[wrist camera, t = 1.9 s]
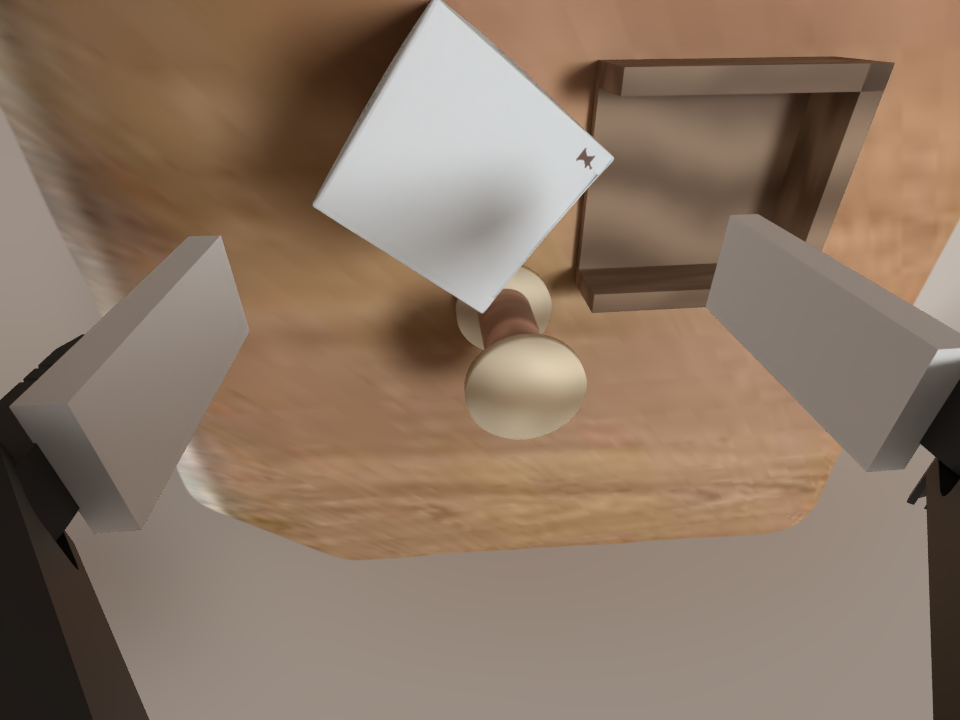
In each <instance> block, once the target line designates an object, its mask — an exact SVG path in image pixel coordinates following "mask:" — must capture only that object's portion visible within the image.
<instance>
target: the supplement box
mask: <svg viewBox="0 0 960 720" xmlns="http://www.w3.org/2000/svg"><path fill="white" fill-rule="evenodd" d="M613 160H614V157H613V156H612V155H611V154H610V153H609V152H608V151H607V150H606V149H605V148H604V147H603V146H602V145H601V144H600V143H599V142H597V141H596V140H595V139H594V138H593V137H592V136H591V135H590V134H589V133H588V132H587V131H586V130H585V129H584V128H583V127H581V126H580V125H579V124H578V123H577V122H576V121H575V120H574V119H573V118H572V117H571V116H570V115H569V114H568V113H566V112H565V111H564V110H563V109H562V108H561V107H560V106H559V105H558V104H557V103H556V102H555V101H554V100H553V99H552V98H551V97H550V96H549V95H548V94H547V93H546V92H545V91H544V90H543V89H542V88H541V87H540V86H539V85H538V84H537V83H536V82H535V81H534V80H533V79H531V78H530V77H529V76H528V75H527V74H526V73H525V72H524V71H523V70H522V69H521V68H520V67H519V66H518V65H517V64H516V63H515V62H514V61H512V60H511V59H510V58H509V57H508V56H507V55H506V54H505V53H504V52H503V51H502V50H500V49H499V48H498V47H497V46H496V45H495V44H494V43H493V42H491V41H490V40H489V39H488V38H487V37H486V36H485V35H484V34H482V33H481V32H480V31H479V30H477V29H476V28H475V27H474V26H473V25H471V24H470V23H469V22H468V21H467V20H465V19H464V18H463V17H462V16H461V15H459V14H458V13H457V12H456V11H454V10H453V9H452V8H451V7H450V6H448V5H447V4H446V3H445V2H444V1H442V0H431V1H430V2H429V4H428V5H427V7H426V8H425V10H424V11H423V13H422V14H421V16H420V17H419V19H418V20H417V22H416V23H415V25H414V26H413V28H412V29H411V31H410V32H409V34H408V36H407V37H406V39H405V40H404V42H403V43H402V45H401V47H400V48H399V50H398V52H397V53H396V55H395V57H394V58H393V60H392V62H391V63H390V65H389V67H388V68H387V70H386V72H385V73H384V75H383V77H382V79H381V80H380V82H379V84H378V86H377V87H376V89H375V91H374V92H373V94H372V96H371V98H370V99H369V101H368V103H367V105H366V106H365V108H364V110H363V112H362V113H361V115H360V117H359V119H358V120H357V122H356V124H355V126H354V128H353V129H352V131H351V133H350V135H349V137H348V138H347V140H346V142H345V144H344V146H343V148H342V149H341V151H340V153H339V155H338V157H337V159H336V160H335V162H334V164H333V166H332V168H331V170H330V172H329V173H328V175H327V177H326V179H325V181H324V183H323V185H322V186H321V188H320V190H319V192H318V194H317V196H316V198H315V200H314V201H313V207H314V208H316V209H317V210H319V211H320V212H322V213H323V214H325V215H327V216H328V217H330V218H331V219H333V220H334V221H336V222H338V223H339V224H341V225H342V226H344V227H345V228H347V229H349V230H350V231H352V232H353V233H355V234H357V235H358V236H360V237H361V238H363V239H365V240H366V241H368V242H369V243H371V244H373V245H374V246H376V247H377V248H379V249H381V250H382V251H384V252H385V253H387V254H389V255H390V256H392V257H393V258H395V259H396V260H398V261H400V262H401V263H403V264H404V265H406V266H408V267H409V268H411V269H412V270H414V271H415V272H417V273H419V274H420V275H422V276H423V277H425V278H426V279H428V280H430V281H431V282H433V283H434V284H436V285H437V286H439V287H441V288H442V289H444V290H445V291H447V292H449V293H450V294H452V295H453V296H455V297H457V298H458V299H460V300H461V301H463V302H465V303H466V304H468V305H469V306H471V307H472V308H474V309H475V310H477V311H478V312H480V313H484V312H485V311H486V310H487V308H488V307H489V306H490V305H491V303H492V302H493V301H494V299H495V298H496V297H497V295H498V294H499V293H500V292H501V291H502V289H503V288H504V287H505V286H506V284H507V283H508V282H509V281H510V279H511V278H512V277H513V276H514V275H515V273H516V272H517V271H518V270H519V268H520V267H521V266H522V265H523V263H524V262H525V261H526V260H527V258H528V257H529V256H530V255H531V254H532V252H533V251H534V250H535V249H536V248H537V246H538V245H539V244H540V243H541V242H542V240H543V239H544V238H545V237H546V236H547V234H548V233H549V232H550V231H551V230H552V228H553V227H554V226H555V225H556V224H557V223H558V222H559V221H560V219H561V218H562V217H563V216H564V215H565V214H566V213H567V211H568V210H569V209H570V208H571V207H572V206H573V205H574V203H575V202H576V201H577V200H578V199H579V198H580V197H581V195H582V194H583V193H584V192H585V191H586V190H587V189H588V188H589V186H590V185H591V184H592V183H593V182H594V181H595V180H596V179H597V178H598V177H599V176H600V174H601V173H602V172H603V171H604V170H605V169H606V168H607V167H608V166H609V165H610V164H611V163H612V162H613Z"/></svg>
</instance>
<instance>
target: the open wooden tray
mask: <svg viewBox="0 0 960 720" xmlns="http://www.w3.org/2000/svg"><path fill="white" fill-rule="evenodd" d="M894 64H895V63H891V62H881V61H872V60H863V59H853V58H844V57H778V58H711V59H643V60H599V61H598V70H597V79H596V89H595V98H594V107H593V117H592V126H591V136H592V137H593V138H594V139H595V140H596V141H597V142H599V143H600V144H601V145H602V146H603V147H604V148H605V149H606V150H607V151H608V152H609V153H610V154H611V155H612V156H613V157H614V160H613V162H612V163H611V164H610V165H609V166H608V167H607V168H606V169H605V170H604V171H603V172H602V173H601V174H600V176H599V177H598V178H597V179H596V180H595V181H594V182H593V183H592V184H591V185H590V186H589V188H588V189H587V190H586V191H585V192H584V201H583V210H582V219H581V229H580V238H579V247H578V257H577V266H576V276H575V283H576V285H577V287H578V289H579V291H580V292H581V294H582V296H583V298H584V299H585V301H586V303H587V305H588V306H589V308H590V310H591V312H592V313H599V312H619V311H638V310H658V309H677V308H697V307H706V303H707V300H708V296H709V292H710V289H711V285H712V281H713V277H714V274H715V270H716V266H717V263H718V259H719V255H720V251H721V248H722V244H723V240H724V237H725V233H726V229H727V226H728V222H729V218H730V215H745V214H759V215H760V216H762V217H764V218H765V219H767V220H769V221H771V222H772V223H774V224H776V225H777V226H779V227H781V228H782V229H784V230H786V231H787V232H789V233H791V234H793V235H794V236H796V237H798V238H799V239H801V240H803V241H804V242H806V243H808V244H810V245H811V246H813V247H815V248H816V249H818V250H820V251H822V249H823V246H824V244H825V241H826V238H827V236H828V233H829V231H830V228H831V226H832V223H833V220H834V218H835V215H836V213H837V210H838V208H839V205H840V202H841V200H842V197H843V195H844V192H845V190H846V187H847V184H848V182H849V179H850V177H851V174H852V172H853V169H854V167H855V164H856V161H857V159H858V156H859V154H860V151H861V149H862V146H863V143H864V141H865V138H866V136H867V133H868V131H869V128H870V125H871V123H872V120H873V118H874V115H875V113H876V110H877V107H878V105H879V102H880V100H881V97H882V95H883V92H884V89H885V87H886V84H887V82H888V79H889V77H890V74H891V72H892V69H893V66H894Z"/></svg>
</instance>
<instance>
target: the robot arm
mask: <svg viewBox="0 0 960 720" xmlns="http://www.w3.org/2000/svg"><path fill="white" fill-rule="evenodd" d="M706 308H707V309H708V310H709V311H710V312H711V313H712V314H713V315H714V316H715V317H716V318H717V319H718V320H719V321H720V322H721V323H722V324H723V325H724V326H725V327H726V328H727V329H728V331H729V332H730V333H731V334H732V335H733V336H734V337H735V338H736V339H737V340H738V341H739V342H740V343H741V344H742V345H743V346H744V347H745V348H746V349H747V350H748V351H749V352H750V353H751V354H752V355H753V356H754V357H755V358H756V359H757V360H758V361H759V362H760V363H761V364H762V365H763V366H764V367H765V368H766V370H767V371H768V372H769V373H770V374H771V375H772V376H773V377H774V378H775V379H776V380H777V381H778V382H779V383H780V384H781V385H782V386H783V387H784V388H785V389H786V390H787V391H788V392H789V393H790V394H791V395H792V396H793V397H794V398H795V399H796V400H797V401H798V402H799V403H800V404H801V405H802V406H803V407H804V408H805V410H806V411H807V412H808V413H809V414H810V415H811V416H812V417H813V418H814V419H815V420H816V421H817V422H818V423H819V424H820V425H821V426H822V427H823V428H824V429H825V430H826V431H827V432H828V433H829V434H830V435H831V436H832V437H833V438H834V439H835V440H836V441H837V442H838V443H839V444H840V445H841V446H842V447H843V449H845V450H846V452H847V453H848V454H850V456H851V457H852V458H853V459H854V460H855V461H856V462H857V463H858V464H859V465H860V466H861V467H862V468H863V469H864V470H865V471H866V472H873V471H886V470H898V469H905V467H906V466H907V464H908V462H909V461H910V459H911V458H912V456H913V455H914V453H915V452H916V450H917V448H918V447H919V445H920V444H921V445H922V446H924V447H925V448H926V449H927V450H928V451H929V452H931V453H932V454H933V455H934V456H935V457H936V458H935V459H934V461H933V462H932V463H931V465H930V466H929V468H928V469H927V471H926V472H925V473H924V475H923V477H922V478H921V479H920V481H919V483H918V484H917V486H916V487H915V488H914V490H913V491H912V493H911V494H910V496H909V498H908V500H907V502H908V503H910V504H915V502H916V501H917V499H918V498H921V497H925V496H926V498H927V505H926V506H925V508H924V509H927V529H928V563H929V591H930V592H929V595H930V626H931V658H932V690H933V720H960V333H959V332H957V331H955V330H953V329H952V328H950V327H948V326H947V325H945V324H943V323H942V322H940V321H938V320H937V319H935V318H933V317H931V316H930V315H928V314H926V313H925V312H923V311H921V310H919V309H918V308H916V307H915V306H913V305H911V304H910V303H908V302H906V301H904V300H903V299H901V298H899V297H898V296H896V295H894V294H893V293H891V292H889V291H887V290H886V289H884V288H882V287H881V286H879V285H877V284H876V283H874V282H872V281H871V280H869V279H867V278H865V277H864V276H862V275H860V274H859V273H857V272H855V271H854V270H852V269H850V268H849V267H847V266H845V265H843V264H842V263H840V262H838V261H837V260H835V259H833V258H832V257H830V256H828V255H826V254H825V253H823V252H821V251H820V250H818V249H816V248H815V247H813V246H811V245H810V244H808V243H806V242H804V241H803V240H801V239H799V238H798V237H796V236H794V235H793V234H791V233H789V232H787V231H786V230H784V229H782V228H781V227H779V226H777V225H776V224H774V223H772V222H771V221H769V220H767V219H765V218H764V217H762V216H760V215H759V214H745V215H730V218H729V222H728V226H727V229H726V233H725V237H724V240H723V244H722V248H721V251H720V255H719V259H718V263H717V266H716V270H715V274H714V277H713V281H712V285H711V289H710V292H709V296H708V300H707V303H706ZM248 333H249V327H248V324H247V321H246V317H245V314H244V311H243V307H242V304H241V301H240V297H239V294H238V291H237V287H236V284H235V281H234V277H233V274H232V271H231V267H230V264H229V261H228V257H227V254H226V251H225V248H224V244H223V241H222V238H221V235H211V236H188V237H187V238H186V239H185V240H184V241H183V242H182V243H181V244H180V245H179V246H178V247H177V248H176V249H175V250H174V251H173V252H172V253H171V254H169V255H168V256H167V257H166V258H165V259H164V260H163V261H162V262H161V263H160V264H159V265H158V266H157V267H156V268H155V269H154V270H153V271H152V272H151V273H149V274H148V275H147V276H146V277H145V278H144V279H143V280H142V281H141V282H140V283H139V284H138V285H137V286H136V287H135V288H134V289H133V290H132V291H130V292H129V293H128V294H127V295H126V296H125V297H124V298H123V299H122V300H121V301H120V302H119V303H118V304H117V305H116V306H115V307H114V308H113V309H111V310H110V311H109V312H108V313H107V314H106V315H105V316H104V317H103V318H102V319H101V320H100V321H99V322H98V323H97V324H96V325H95V326H94V327H93V328H92V329H90V330H89V331H88V332H87V333H86V334H83V335H81V336H79V337H77V338H75V339H74V340H72V341H70V342H68V343H66V344H65V345H63V346H61V347H59V348H57V349H56V350H55V351H53V352H52V353H51V354H50V355H49V356H48V357H47V358H46V359H45V360H44V361H43V362H42V363H40V364H39V368H38V369H34V370H33V371H32V372H30V373H29V374H28V375H27V376H26V377H25V378H24V379H23V380H24V382H21V383H19V384H18V385H16V386H15V387H14V388H13V389H12V390H11V391H10V392H9V393H8V394H6V395H5V396H4V397H3V398H2V399H1V400H0V720H149V718H148V716H147V713H146V711H145V709H144V707H143V704H142V702H141V699H140V697H139V694H138V692H137V690H136V688H135V685H134V683H133V681H132V678H131V676H130V673H129V671H128V669H127V666H126V664H125V662H124V659H123V657H122V655H121V652H120V650H119V648H118V645H117V643H116V641H115V638H114V636H113V634H112V631H111V629H110V627H109V624H108V622H107V619H106V617H105V615H104V613H103V610H102V608H101V605H100V603H99V601H98V598H97V596H96V594H95V591H94V589H93V587H92V584H91V582H90V580H89V577H88V575H87V573H86V570H85V568H84V566H83V563H82V561H81V558H80V556H79V554H78V551H77V549H76V547H75V544H74V543H73V541H72V540H71V539H70V537H69V536H68V534H67V533H66V531H65V529H66V527H67V526H68V525H69V523H70V522H71V520H72V519H73V517H74V516H75V514H76V513H77V511H79V512H80V514H81V515H82V516H83V518H84V519H85V521H86V522H87V524H88V525H89V527H90V528H91V530H92V531H93V533H94V534H97V533H110V532H122V531H134V530H142V528H143V526H144V524H145V522H146V521H147V519H148V517H149V515H150V513H151V511H152V510H153V508H154V506H155V504H156V502H157V500H158V499H159V497H160V495H161V493H162V491H163V489H164V487H165V486H166V484H167V482H168V480H169V478H170V477H171V475H172V473H173V471H174V469H175V467H176V466H177V464H178V462H179V460H180V458H181V456H182V455H183V453H184V451H185V449H186V447H187V445H188V443H189V442H190V440H191V438H192V436H193V434H194V432H195V431H196V429H197V427H198V425H199V423H200V421H201V420H202V418H203V416H204V414H205V412H206V410H207V409H208V407H209V405H210V403H211V401H212V399H213V398H214V396H215V394H216V392H217V390H218V388H219V387H220V385H221V383H222V381H223V379H224V377H225V376H226V374H227V372H228V370H229V368H230V366H231V365H232V363H233V361H234V359H235V357H236V355H237V353H238V352H239V350H240V348H241V346H242V344H243V342H244V341H245V339H246V337H247V335H248Z"/></svg>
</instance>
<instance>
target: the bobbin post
mask: <svg viewBox="0 0 960 720" xmlns="http://www.w3.org/2000/svg"><path fill="white" fill-rule="evenodd" d="M551 313H552V302H551V297H550V294H549V292H548V289H547V287H546V285H545V283H544V282H543V280H542V279H541V278H540V277H539V275H538V274H536V273H535V272H534V271H532V270H531V269H529V268H527V267H525V266H521V267H520V268H519V270H518V271H517V272H516V273H515V275H514V276H513V277H512V278H511V279H510V281H509V282H508V283H507V284H506V286H505V287H504V288H503V289H502V291H501V292H500V293H499V294H498V295H497V297H496V298H495V299H494V301H493V302H492V303H491V305H490V306H489V307H488V308H487V310H486V311H485V312H484V313H480V312H478V311H477V310H475V309H474V308H472V307H471V306H469V305H468V304H466V303H465V302H463V301H461V300H460V299H458V298H457V301H456V316H457V323H458V326H459V328H460V331H461V332H462V334H463V335H464V337H465V338H466V339H467V340H468V341H469V342H470V343H471V344H473V345H474V346H476V347H478V348H480V349H482V350H483V351H482V352H481V353H480V354H479V355H478V356H477V357H476V358H475V360H474V361H473V362H472V364H471V366H470V367H469V369H468V372H467V375H466V378H465V386H464V389H465V398H466V405H467V409H468V411H469V413H470V415H471V417H472V418H473V420H474V421H475V422H476V423H477V424H478V425H479V426H480V427H481V428H483V429H484V430H486V431H487V432H489V433H491V434H494V435H496V436H499V437H503V438H508V439H529V438H535V437H539V436H542V435H546V434H548V433H550V432H553V431H555V430H556V429H558V428H560V427H561V426H563V425H564V424H566V423H567V422H568V421H569V420H570V419H571V418H572V417H573V416H574V415H575V414H576V413H577V411H578V410H579V408H580V407H581V405H582V403H583V401H584V398H585V395H586V390H587V381H586V375H585V372H584V369H583V367H582V365H581V363H580V361H579V359H578V357H577V355H576V354H575V352H574V351H573V350H572V349H571V348H570V347H569V346H568V345H566V344H565V343H564V342H562V341H560V340H558V339H556V338H553V337H551V336H547V335H542V333H543V332H544V330H545V329H546V327H547V325H548V323H549V321H550V317H551Z"/></svg>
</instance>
